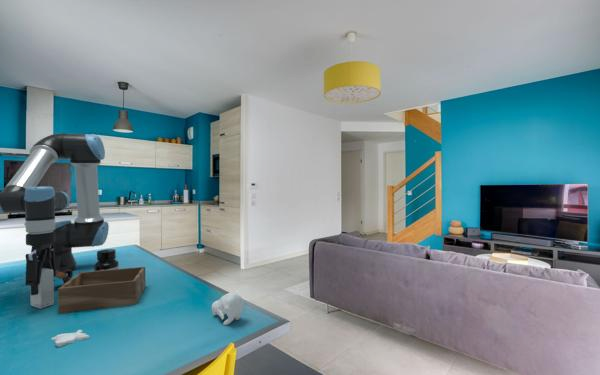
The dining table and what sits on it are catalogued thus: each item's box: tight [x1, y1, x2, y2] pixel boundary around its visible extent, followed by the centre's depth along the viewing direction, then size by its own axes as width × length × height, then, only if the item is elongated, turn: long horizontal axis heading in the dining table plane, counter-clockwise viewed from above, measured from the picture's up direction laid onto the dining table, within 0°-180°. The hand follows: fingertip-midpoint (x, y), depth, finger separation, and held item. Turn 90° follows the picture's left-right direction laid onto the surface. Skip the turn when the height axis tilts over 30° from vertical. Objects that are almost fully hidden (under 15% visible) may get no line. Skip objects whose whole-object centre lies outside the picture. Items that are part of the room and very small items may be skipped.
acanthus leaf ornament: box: [50, 329, 91, 348], centre depth 78 cm, size 8×7×2 cm
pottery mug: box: [54, 269, 74, 287], centre depth 117 cm, size 12×10×8 cm
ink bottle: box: [93, 248, 120, 271], centre depth 128 cm, size 10×9×12 cm
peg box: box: [57, 266, 147, 315], centre depth 105 cm, size 18×22×8 cm
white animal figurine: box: [211, 292, 245, 326], centre depth 90 cm, size 6×8×12 cm
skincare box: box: [30, 268, 55, 310], centre depth 99 cm, size 6×4×12 cm
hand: (42, 299), depth 99 cm, fingers closed on skincare box, 7 cm apart
